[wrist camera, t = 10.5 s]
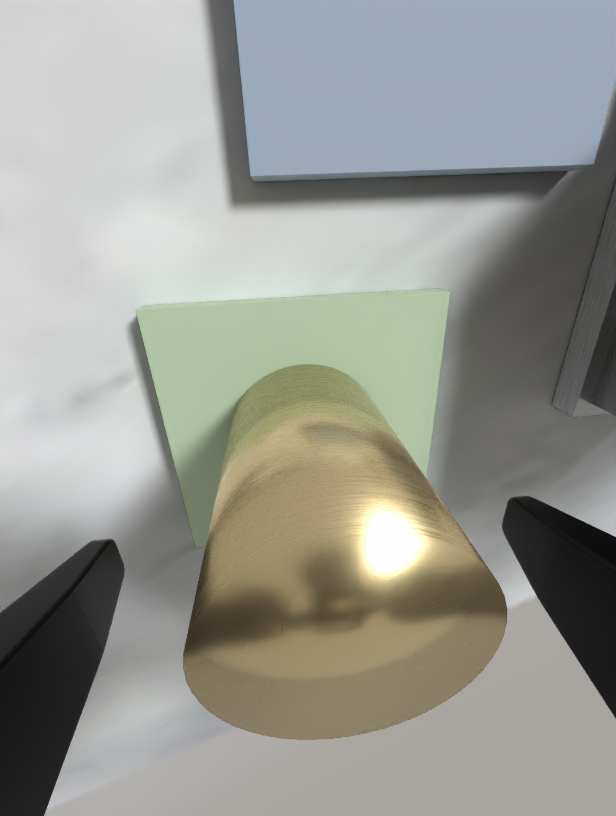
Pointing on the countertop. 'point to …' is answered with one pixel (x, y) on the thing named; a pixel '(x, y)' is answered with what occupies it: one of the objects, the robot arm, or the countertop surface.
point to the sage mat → (282, 347)
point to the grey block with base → (594, 336)
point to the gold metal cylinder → (332, 572)
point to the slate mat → (423, 86)
